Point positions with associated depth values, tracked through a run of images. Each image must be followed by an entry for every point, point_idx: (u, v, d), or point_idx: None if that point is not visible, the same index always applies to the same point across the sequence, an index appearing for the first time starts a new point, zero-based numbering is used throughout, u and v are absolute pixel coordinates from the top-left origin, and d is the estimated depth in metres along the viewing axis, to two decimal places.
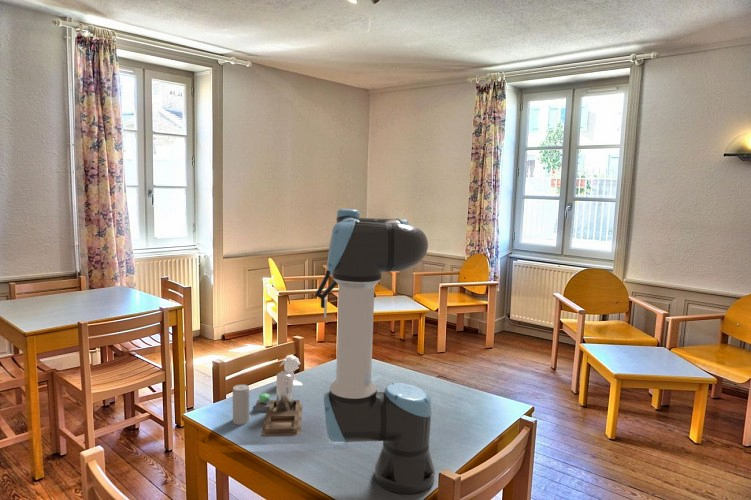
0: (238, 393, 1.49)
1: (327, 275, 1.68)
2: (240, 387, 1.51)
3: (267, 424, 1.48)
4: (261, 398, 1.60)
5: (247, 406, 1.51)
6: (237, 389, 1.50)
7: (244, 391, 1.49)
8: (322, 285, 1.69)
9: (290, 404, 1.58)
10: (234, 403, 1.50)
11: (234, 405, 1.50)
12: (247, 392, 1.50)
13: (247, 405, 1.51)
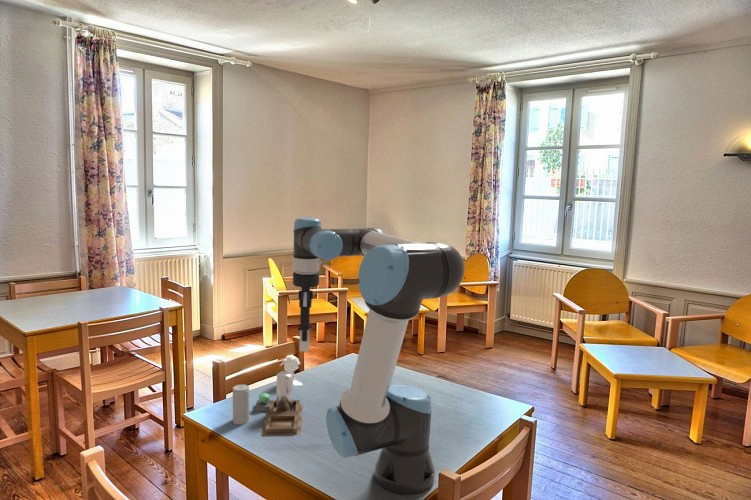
0: (238, 393, 1.49)
1: None
2: (240, 387, 1.51)
3: (267, 424, 1.48)
4: (261, 398, 1.60)
5: (247, 406, 1.51)
6: (237, 389, 1.50)
7: (244, 391, 1.49)
8: None
9: (290, 404, 1.58)
10: (234, 403, 1.50)
11: (234, 405, 1.50)
12: (247, 392, 1.50)
13: (247, 405, 1.51)
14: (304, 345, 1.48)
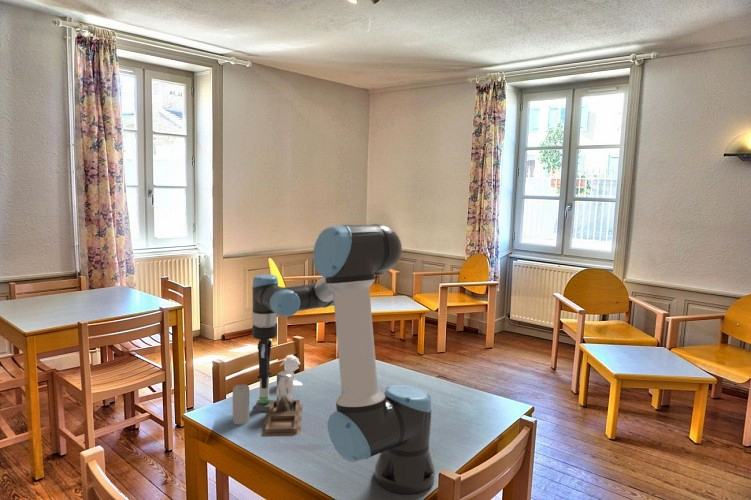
0: (238, 393, 1.49)
1: None
2: (240, 387, 1.51)
3: (267, 424, 1.48)
4: (261, 400, 1.60)
5: (247, 406, 1.51)
6: (237, 389, 1.50)
7: (244, 391, 1.49)
8: None
9: (290, 404, 1.58)
10: (234, 403, 1.50)
11: (234, 405, 1.50)
12: (247, 392, 1.50)
13: (247, 405, 1.51)
14: (264, 392, 1.60)
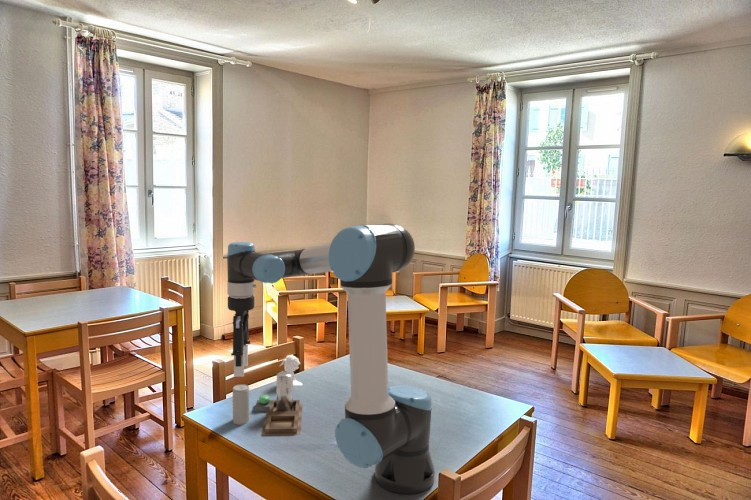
0: (238, 393, 1.49)
1: None
2: (240, 387, 1.51)
3: (267, 424, 1.48)
4: (261, 400, 1.60)
5: (247, 406, 1.51)
6: (237, 389, 1.50)
7: (244, 391, 1.49)
8: None
9: (290, 404, 1.58)
10: (234, 403, 1.50)
11: (234, 405, 1.50)
12: (247, 392, 1.50)
13: (247, 405, 1.51)
14: (238, 370, 1.46)
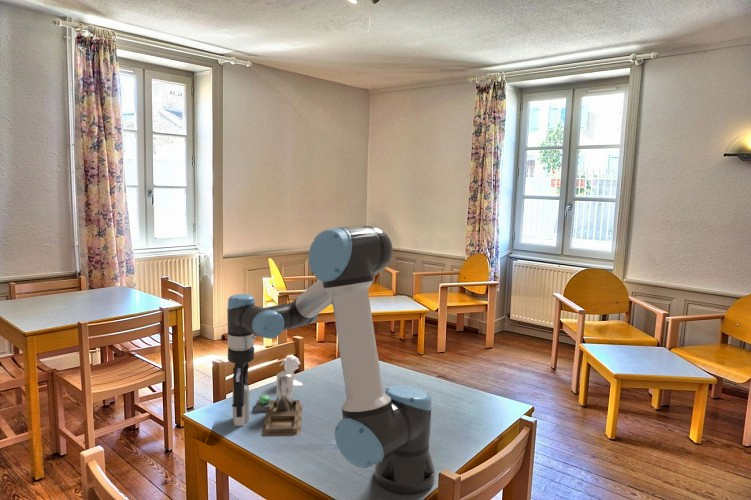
0: None
1: None
2: None
3: (267, 424, 1.48)
4: (261, 400, 1.60)
5: (247, 406, 1.51)
6: None
7: (244, 391, 1.49)
8: None
9: (290, 404, 1.58)
10: None
11: None
12: (247, 392, 1.50)
13: (247, 405, 1.51)
14: (239, 420, 1.49)
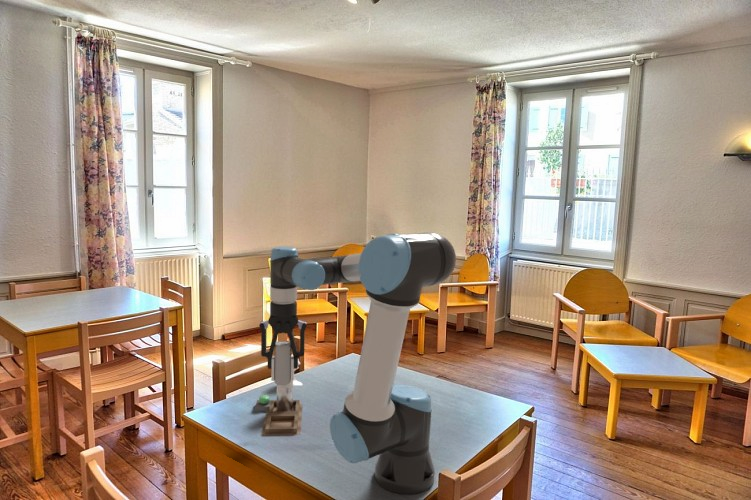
0: None
1: (262, 329, 1.44)
2: (282, 343, 1.46)
3: (267, 424, 1.48)
4: (261, 400, 1.60)
5: None
6: (287, 344, 1.46)
7: None
8: (263, 342, 1.45)
9: (290, 404, 1.58)
10: (288, 359, 1.46)
11: (288, 361, 1.46)
12: None
13: None
14: None
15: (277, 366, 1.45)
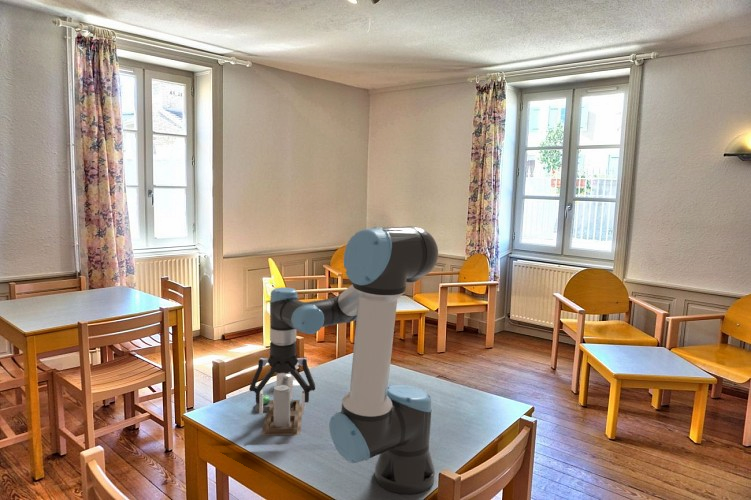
0: (289, 390, 1.48)
1: (260, 366, 1.46)
2: (281, 387, 1.48)
3: (267, 424, 1.48)
4: None
5: None
6: (286, 388, 1.48)
7: None
8: (255, 377, 1.46)
9: (290, 404, 1.58)
10: (287, 403, 1.48)
11: (287, 406, 1.48)
12: None
13: None
14: None
15: (276, 410, 1.47)
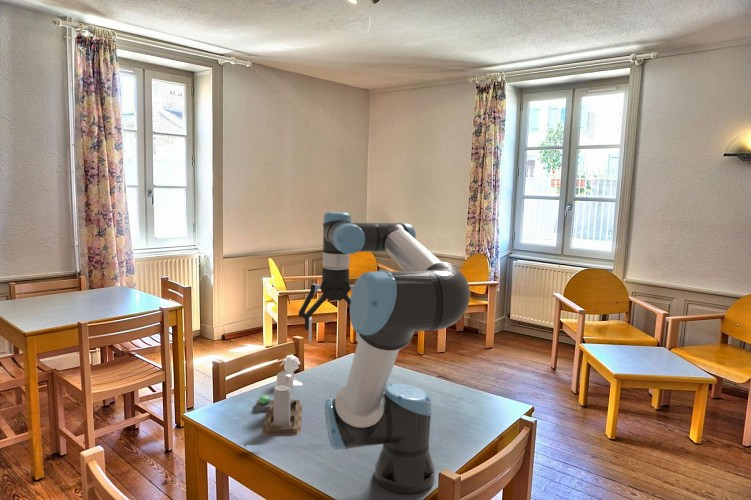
0: (290, 390, 1.48)
1: (312, 291, 1.41)
2: (281, 388, 1.48)
3: (267, 424, 1.48)
4: (261, 400, 1.60)
5: None
6: (286, 389, 1.48)
7: None
8: (306, 303, 1.41)
9: (290, 404, 1.58)
10: (287, 404, 1.47)
11: (287, 406, 1.48)
12: None
13: None
14: None
15: (277, 410, 1.47)
